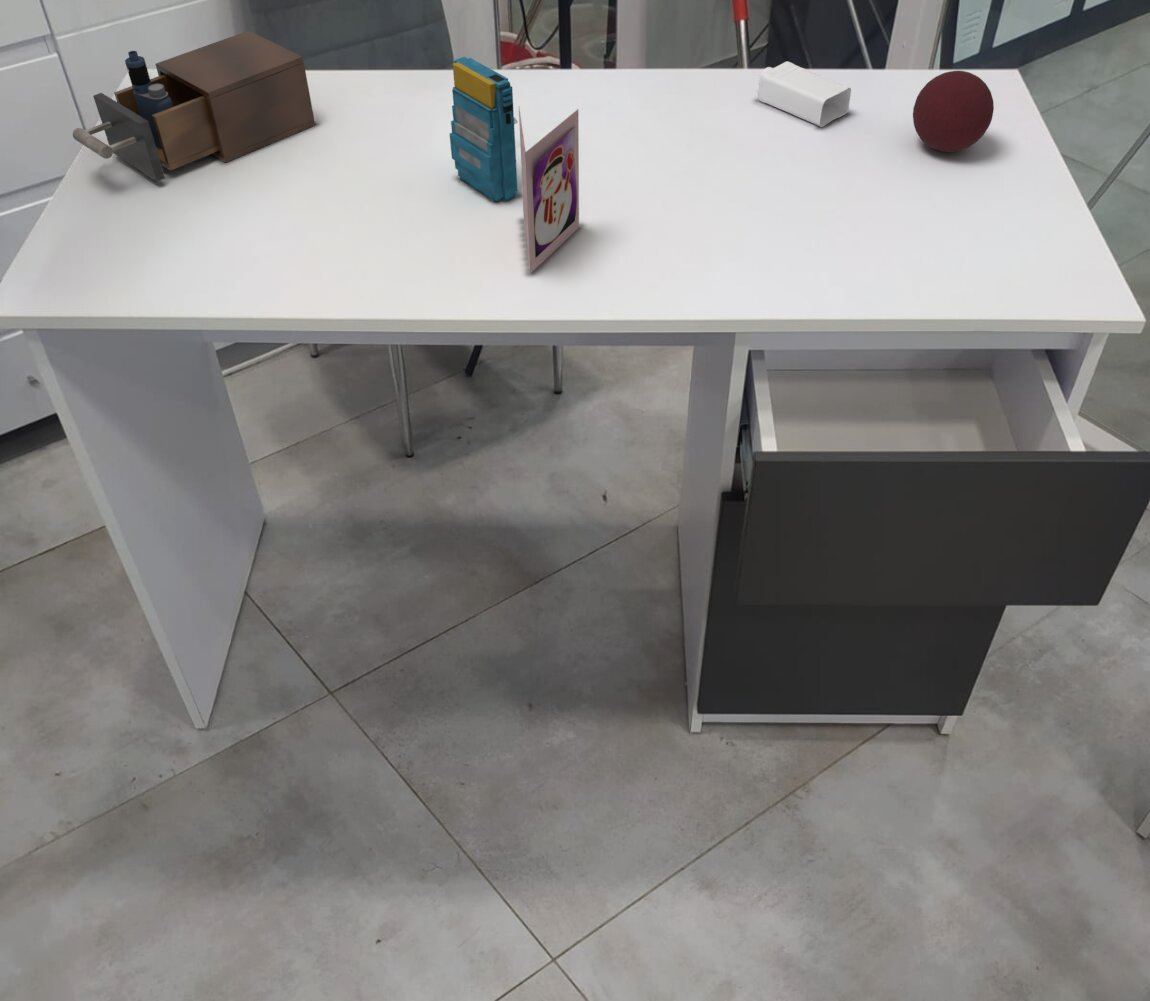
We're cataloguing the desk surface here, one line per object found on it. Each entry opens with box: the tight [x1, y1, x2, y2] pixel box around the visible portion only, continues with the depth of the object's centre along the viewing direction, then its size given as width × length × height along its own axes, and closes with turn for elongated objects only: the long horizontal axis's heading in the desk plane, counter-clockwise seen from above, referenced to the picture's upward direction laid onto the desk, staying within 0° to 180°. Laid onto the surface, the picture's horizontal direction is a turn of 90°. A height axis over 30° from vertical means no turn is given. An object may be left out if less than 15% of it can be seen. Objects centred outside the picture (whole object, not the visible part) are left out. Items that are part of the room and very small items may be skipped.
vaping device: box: [124, 50, 173, 149], centre depth 142 cm, size 3×5×12 cm, turn 59°
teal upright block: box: [449, 56, 518, 203], centre depth 137 cm, size 10×4×15 cm, turn 40°
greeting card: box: [518, 107, 580, 274], centre depth 127 cm, size 11×7×15 cm, turn 151°
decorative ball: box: [912, 70, 995, 153], centre depth 145 cm, size 10×10×10 cm
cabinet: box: [155, 30, 316, 164], centre depth 150 cm, size 15×13×10 cm
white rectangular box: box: [757, 61, 852, 128], centre depth 156 cm, size 6×13×4 cm, turn 43°
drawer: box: [72, 74, 220, 182], centre depth 144 cm, size 18×11×8 cm, turn 136°
